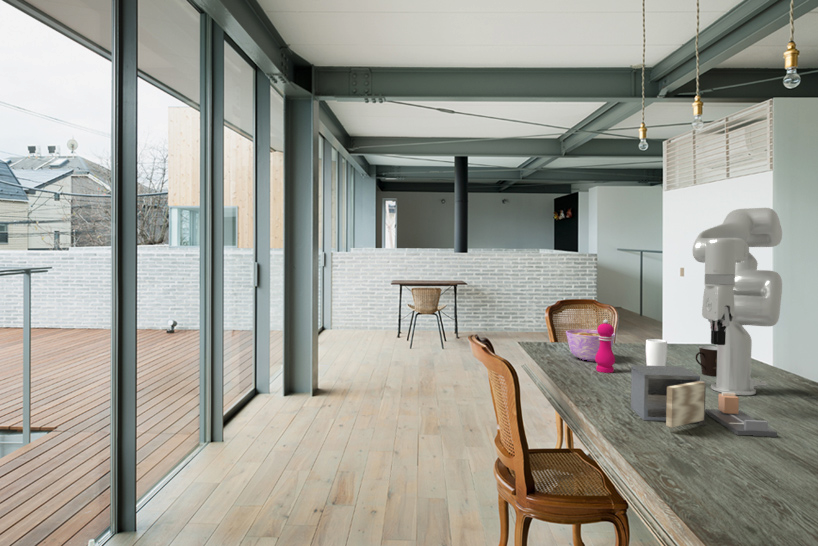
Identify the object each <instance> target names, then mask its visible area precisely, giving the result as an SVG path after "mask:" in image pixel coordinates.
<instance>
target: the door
mask: <svg viewBox="0 0 818 546" xmlns="http://www.w3.org/2000/svg"><path fill="white" fill-rule="evenodd" d="M706 384H707V381H705V380H700V381H697V382H691V383H686V384H680V385H674V386H669V387H667V409H666V421H665V426H666V427H669V428H670V429H671V428H676V427H680V426H681V427H682V426H684V425H689V424H693V423H696V422H698V421H699V425H700V426H705V424H706V388H707V386H706Z"/></svg>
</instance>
